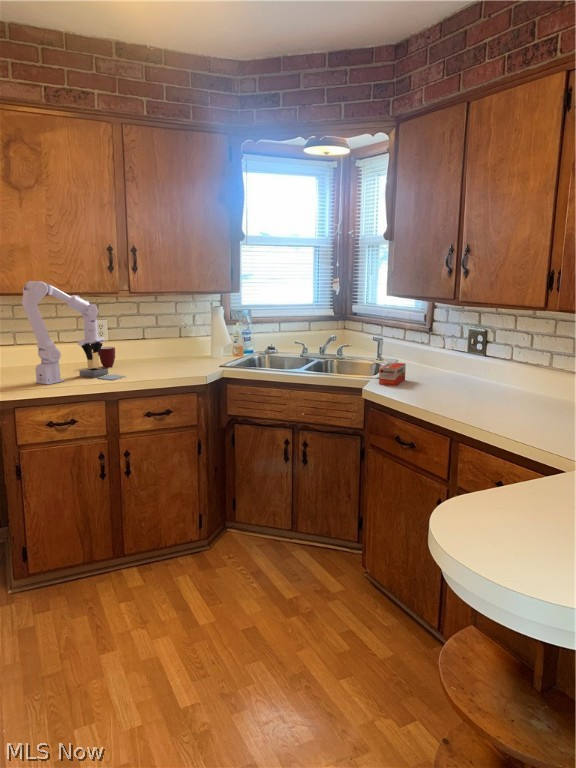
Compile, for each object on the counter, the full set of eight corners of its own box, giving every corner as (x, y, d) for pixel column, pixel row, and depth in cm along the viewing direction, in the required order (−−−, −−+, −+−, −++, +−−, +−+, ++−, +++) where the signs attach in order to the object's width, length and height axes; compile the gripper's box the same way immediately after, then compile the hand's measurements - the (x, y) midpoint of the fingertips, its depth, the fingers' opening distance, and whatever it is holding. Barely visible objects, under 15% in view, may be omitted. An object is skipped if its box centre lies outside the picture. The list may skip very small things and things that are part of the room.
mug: (105, 364, 286) (104, 345, 284) (120, 365, 285) (119, 346, 283) (96, 368, 276) (95, 348, 274) (112, 368, 275) (110, 349, 273)
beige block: (93, 368, 254) (92, 353, 253) (87, 367, 256) (86, 352, 254) (99, 367, 257) (98, 352, 256) (93, 366, 259) (92, 351, 257)
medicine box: (387, 378, 252) (388, 361, 251) (405, 380, 249) (406, 362, 247) (378, 384, 239) (378, 366, 237) (396, 386, 236) (397, 368, 234)
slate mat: (112, 380, 247) (112, 379, 247) (97, 378, 251) (97, 377, 250) (126, 376, 255) (126, 376, 254) (111, 375, 258) (111, 374, 258)
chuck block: (94, 378, 251) (93, 371, 251) (79, 376, 255) (79, 370, 255) (108, 374, 259) (108, 368, 259) (94, 373, 263) (93, 367, 263)
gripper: (85, 331, 245) (87, 361, 248) (108, 328, 257) (110, 357, 260) (73, 331, 248) (75, 360, 251) (97, 328, 261) (99, 356, 263)
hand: (92, 359), depth 256 cm, fingers closed on beige block, 3 cm apart
